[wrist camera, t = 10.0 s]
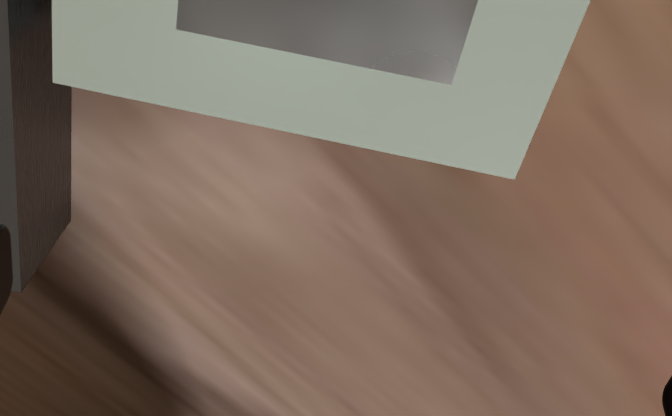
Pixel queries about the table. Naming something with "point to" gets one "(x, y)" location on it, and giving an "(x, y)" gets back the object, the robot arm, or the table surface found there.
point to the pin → (344, 30)
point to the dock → (331, 79)
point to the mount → (32, 137)
